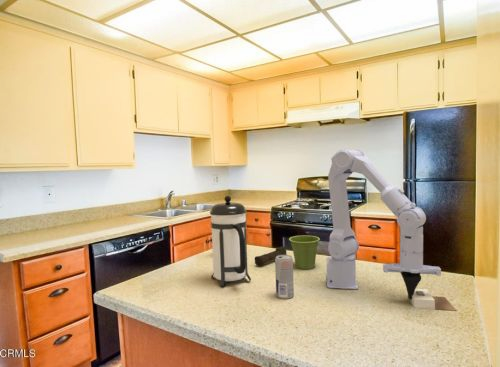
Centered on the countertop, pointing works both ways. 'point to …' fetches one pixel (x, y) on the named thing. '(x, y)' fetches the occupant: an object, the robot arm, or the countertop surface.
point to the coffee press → (229, 242)
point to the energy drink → (284, 276)
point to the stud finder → (422, 299)
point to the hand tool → (270, 256)
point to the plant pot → (304, 250)
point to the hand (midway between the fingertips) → (410, 298)
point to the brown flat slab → (443, 304)
